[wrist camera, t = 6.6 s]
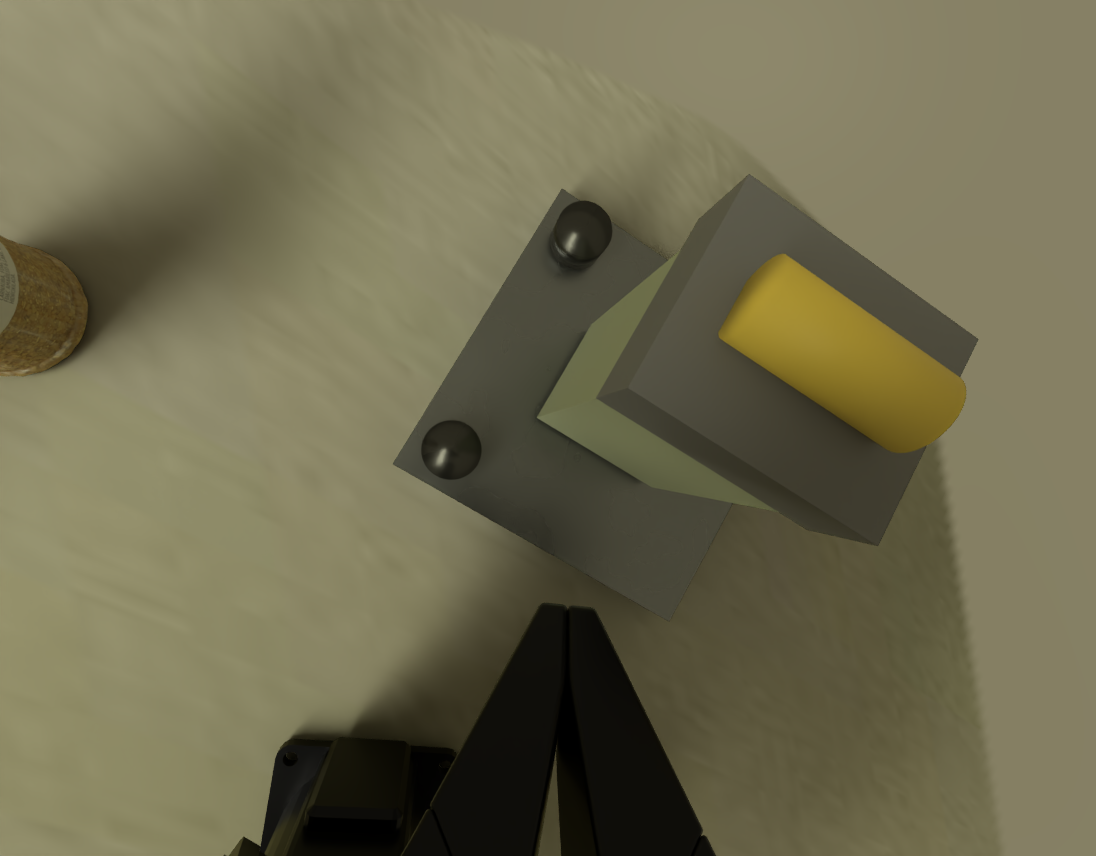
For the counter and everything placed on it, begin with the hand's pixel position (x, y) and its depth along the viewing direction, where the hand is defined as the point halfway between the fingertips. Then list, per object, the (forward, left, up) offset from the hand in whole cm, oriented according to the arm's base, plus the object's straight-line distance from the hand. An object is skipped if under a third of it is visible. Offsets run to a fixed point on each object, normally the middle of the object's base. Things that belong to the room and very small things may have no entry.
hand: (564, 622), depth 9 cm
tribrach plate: (+5, -4, -14) cm, 15 cm away
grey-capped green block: (+5, -4, -11) cm, 13 cm away
